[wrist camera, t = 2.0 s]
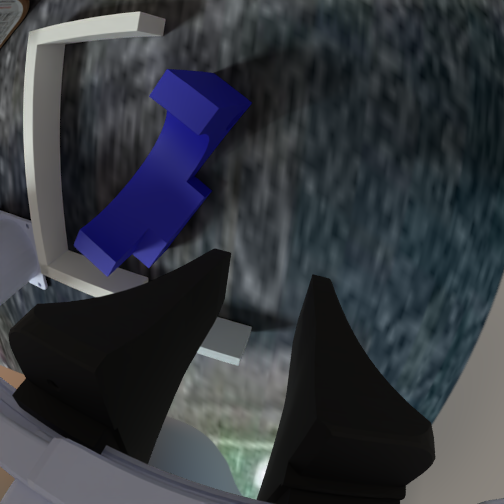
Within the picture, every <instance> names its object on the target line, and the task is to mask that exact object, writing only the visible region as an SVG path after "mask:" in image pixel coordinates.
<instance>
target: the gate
mask: <svg viewBox="0 0 504 504" xmlns="http://www.w3.org/2000/svg"><path fill="white" fill-rule="evenodd" d="M251 329H252V327H251V326H247V325H244V324H240V323H237V322H233V321H230V320H226V319H223V318H220V317H217V318H216V321H215V322H214V324H213V326H212V328H211V329H210V331H209V333H208V335H207V336H206V338H205V340H204V341H203V343H202V345H201V346H200V348H199V350H198V351H197V353H199V354H202V355H205V356H208V357H211V358H214V359H217V360H221V361H224V362H227V363H230V364H234V365H237V366H239V363H240V361H241V358H242V355H243V353H244V350H245V347H246V344H247V342H248V339H249V336H250V333H251Z"/></svg>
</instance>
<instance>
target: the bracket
mask: <svg viewBox="0 0 504 504" xmlns="http://www.w3.org/2000/svg"><path fill="white" fill-rule="evenodd" d="M165 21H166V19H164V18H160V17H157V16H154V15H151V14H147V13H144V12H130V13H121V14H113V15H106V16H99V17H93V18H87V19H81V20H76V21H71V22H67V23H62V24H58V25H53V26H49V27H45V28H41V29H38V30H34V31H30V32H29V38H28V46H27V56H26V66H25V81H24V107H23V129H24V156H25V171H26V182H27V192H28V200H29V208H30V215H31V222H32V228H33V234H34V240H35V245H36V251H37V256H38V261H39V265H40V270H41V274H43V275H45V276H48V277H50V278H52V279H54V280H57V281H59V282H61V283H63V284H66V285H68V286H70V287H73V288H75V289H77V290H80V291H82V292H84V293H87V294H89V295H92V296H94V297H101V296H105V295H109V294H113V293H116V292H120V291H124V290H127V289H131V288H133V287H136V286H139V285H142V284H145V283H147V282H148V277H145V276H142V275H139V274H136V273H133V272H130V271H127V270H124V269H121V268H117V269H116V270H115V271H114V272H112V273H111V274H110V275H109V276H108V277H107V276H106V275H105V274H103V273H102V272H101V271H100V270H99V269H98V268H97V267H96V266H95V265H94V264H93V263H92V262H90V261H89V260H88V259H87V258H86V257H85V256H83V255H81V254H78V253H75V252H72V251H70V250H68V244H67V236H66V228H65V219H64V209H63V198H62V184H61V165H60V103H61V84H62V71H63V61H64V51H65V44H71V43H78V42H86V41H94V40H103V39H114V38H128V37H150V36H163V32H164V26H165Z"/></svg>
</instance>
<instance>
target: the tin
mask: <svg viewBox="0 0 504 504" xmlns="http://www.w3.org/2000/svg"><path fill="white" fill-rule="evenodd" d="M28 10H29V0H0V48H1V47H2V46H3V44H4V43H5V42H6V41H7V39H8V38H9V37H10V35H11V34H12V33H13V32H14V30H15V29H16V28H17V27H18V26H19V24H20V23H21V22H22V21H23V19H24V18H25V16H26V14H27V12H28Z"/></svg>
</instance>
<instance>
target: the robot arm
mask: <svg viewBox="0 0 504 504" xmlns="http://www.w3.org/2000/svg"><path fill="white" fill-rule="evenodd" d="M230 258H231V253H230V252H226V251H222V250H219V249H213V250H211V251H209V252H207V253H205V254H204V255H202V256H200V257H198V258H196V259H195V260H193V261H191V262H189V263H187V264H186V265H184V266H182V267H180V268H178V269H176V270H174V271H172V272H170V273H167V274H165V275H163V276H161V277H159V278H157V279H155V280H152V281H150V282H147V283H145V284H142V285H139V286H136V287H133V288H131V289H127V290H124V291H120V292H116V293H113V294H109V295H105V296H101V297H96V298H91V299H85V300H78V301H71V302H61V303H47V304H37V305H36V306H35V307H34V308H32V309H31V310H30V311H29V312H28V313H27V314H26V315H25V316H24V317H23V318H22V319H21V320H20V321H19V322H18V323H17V324H16V325H15V326H13V327H12V328H11V329H10V332H9V342H10V346H11V349H12V351H13V353H14V355H15V358H16V360H17V362H18V364H19V366H20V368H21V370H22V372H23V373H24V375H25V377H26V379H25V381H24V382H23V383H22V384H21V385H20V386H19V387H18V389H15V388H14V387H13V386H11V385H10V384H9V383H7V382H6V381H5V380H3V379H2V378H1V377H0V466H1V467H2V468H3V469H4V470H5V471H6V472H8V473H9V474H10V475H11V476H13V477H14V478H15V480H14V482H13V483H12V485H11V486H10V488H9V489H8V491H7V492H6V494H5V495H4V497H3V499H2V500H1V502H0V504H400V500H402V499H404V498H405V495H406V485H407V484H408V483H410V482H411V481H413V480H414V479H415V478H417V477H418V476H420V475H421V474H422V473H424V472H425V471H426V470H427V469H428V468H429V467H430V466H431V465H432V464H433V462H434V460H435V448H434V436H433V431H432V425H431V422H430V421H428V420H427V419H426V418H425V417H424V416H423V415H421V414H420V413H419V412H418V411H417V410H416V409H414V408H413V407H412V406H411V405H410V404H409V403H408V402H407V401H406V400H405V399H404V398H403V397H402V396H401V395H400V394H399V393H398V392H397V391H396V390H395V389H394V388H393V387H392V386H391V385H390V384H389V383H388V381H387V380H386V379H385V378H384V377H383V375H382V374H381V373H380V372H379V370H378V369H377V368H376V367H375V365H374V364H373V363H372V361H371V360H370V359H369V357H368V356H367V354H366V353H365V351H364V350H363V348H362V347H361V345H360V343H359V342H358V340H357V338H356V336H355V335H354V333H353V331H352V329H351V327H350V325H349V323H348V321H347V319H346V317H345V314H344V312H343V310H342V308H341V305H340V303H339V300H338V298H337V295H336V293H335V290H334V287H333V284H332V282H331V280H330V279H329V278H325V277H321V276H317V275H312V278H311V281H310V285H309V288H308V291H307V294H306V297H305V300H304V303H303V306H302V310H301V313H300V316H299V319H298V323H297V327H296V331H295V336H294V340H293V345H292V354H291V362H290V370H289V378H288V386H287V393H286V399H285V404H284V409H283V413H282V416H281V420H280V424H279V428H278V432H277V435H276V439H275V442H274V446H273V449H272V453H271V456H270V460H269V463H268V466H267V469H266V473H265V476H264V479H263V482H262V485H261V488H260V491H259V494H258V497H257V500H255V499H251V498H247V497H243V496H239V495H235V494H231V493H228V492H224V491H221V490H218V489H214V488H211V487H208V486H205V485H201V484H199V483H195V482H193V481H190V480H187V479H184V478H181V477H179V476H176V475H173V474H171V473H168V472H165V471H163V470H160V469H158V468H155V467H153V466H151V465H148V462H149V459H150V457H151V454H152V451H153V448H154V446H155V443H156V440H157V438H158V435H159V433H160V430H161V428H162V425H163V422H164V420H165V418H166V415H167V413H168V410H169V408H170V406H171V403H172V401H173V399H174V396H175V394H176V392H177V390H178V387H179V385H180V383H181V381H182V378H183V376H184V374H185V372H186V370H187V368H188V367H189V365H190V363H191V361H192V360H193V358H194V356H195V355H196V353H197V351H198V350H199V348H200V346H201V345H202V343H203V341H204V340H205V338H206V336H207V335H208V333H209V331H210V329H211V328H212V326H213V324H214V322H215V321H216V318H217V316H218V314H219V311H220V309H221V307H222V304H223V302H224V299H225V293H226V286H227V279H228V272H229V265H230ZM27 282H30V283H32V284H34V285H36V286H38V287H40V288H42V289H44V290H45V289H47V287H48V285H47V281H46V277H45V275H43V274H41V270H40V265H39V261H38V256H37V251H36V245H35V240H34V234H33V228H32V222H31V221H30V220H27V219H24V218H21V217H18V216H16V215H13V214H10V213H7V212H4V211H1V210H0V305H2V304H3V303H4V302H5V301H6V300H7V299H9V298H10V297H11V296H12V295H13V294H14V293H16V292H17V291H18V290H19V289H20V288H21V287H23V286H24V285H25V284H26V283H27ZM479 504H504V498H501V499H495V500H489V501H485V502H481V503H479Z"/></svg>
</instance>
